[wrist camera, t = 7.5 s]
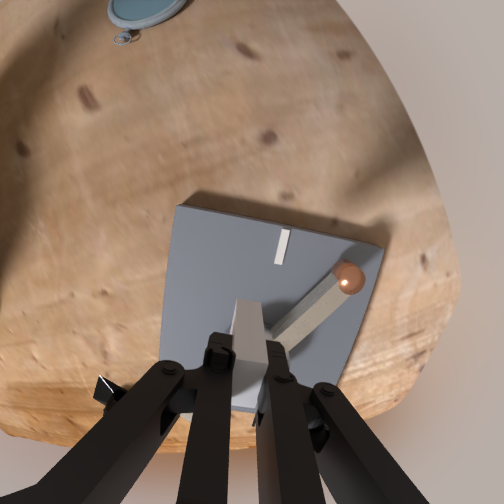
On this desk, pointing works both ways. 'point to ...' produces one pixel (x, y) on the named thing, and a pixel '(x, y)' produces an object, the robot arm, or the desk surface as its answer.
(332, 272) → the rotary pointer lever
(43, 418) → the desk surface
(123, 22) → the pocket watch
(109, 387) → the black stepped block
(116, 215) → the desk surface
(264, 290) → the stand
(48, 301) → the desk surface
